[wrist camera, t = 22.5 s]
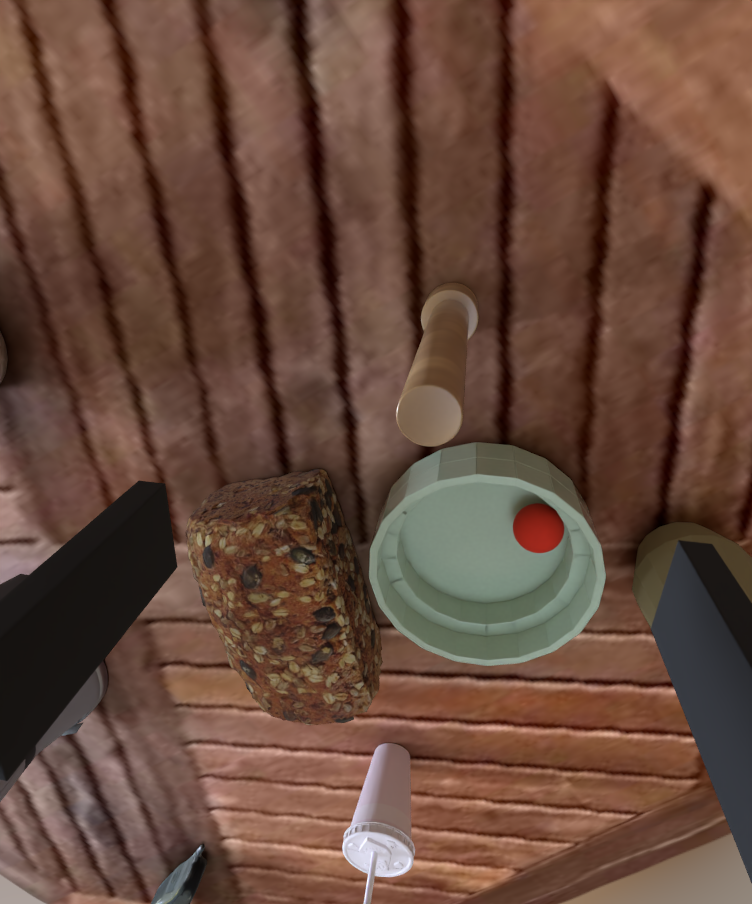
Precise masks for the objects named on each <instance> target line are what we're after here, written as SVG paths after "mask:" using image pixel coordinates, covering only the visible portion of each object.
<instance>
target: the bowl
mask: <svg viewBox="0 0 752 904" xmlns="http://www.w3.org/2000/svg"><path fill="white" fill-rule="evenodd" d="M535 503H540V504H545V505H548V506H550V507H552V508H553V509H555V510H556V511H557V513H558V515H559V516H560V518H561V520H562V521H563V523H564V535H563V538H562V540H561V542H560V543H559V545H558V546H557V547H556V548H554V549H553V550H551V551H549V552H546V553H533V552H530V551H528V550H526V549H524V548H523V547H522V546H521V545H520V544H519V543H518V542H517V540H516V539H515V536H514V533H513V522H514V518H515V516H516V515H517V513H518V512H519V511H520V510H521V509H522V508H524V507H525V506H527V505H530V504H535ZM369 580H370V583H371V586H372V589H373V591H374V594H375V597H376V600H377V603H378V605H379V607H380V609H381V610H382V611H383V612H384V614H385V615H386V616H387V618H388V619H389V620H390V621H391V623H392V624H393V625H394V627H395V628H396V629H397V630H398V631H399V632H400V633H402V634H403V635H405V636H406V637H407V638H409V639H410V640H411V641H413V642H414V643H416V644H417V645H418V646H420V647H421V648H422V649H425V650H427V651H430V652H432V653H435V654H437V655H440V656H442V657H445V658H447V659H450V660H452V661H457V662H464V663H470V664H477V665H484V666H493V665H504V664H516V663H523V662H526V661H529V660H532V659H535V658H537V657H540V656H543V655H546V654H549V653H552V652H553V651H555V650H557V649H558V648H560V647H561V646H563V645H564V644H565V643H567V642H568V641H570V640H571V639H572V638H574V637H575V636H577V635H578V634H579V633H580V632H581V631H582V630H583V628H584V627H585V626H586V624H587V623H588V621H589V620H590V619H591V617H592V616H593V615H594V613H595V612H596V610H597V609H598V607H599V604H600V600H601V596H602V592H603V588H604V584H605V580H606V572H605V566H604V559H603V553H602V547H601V544H600V541H599V538H598V535H597V532H596V530H595V527H594V524H593V521H592V518H591V515H590V512H589V510H588V507H587V505H586V503H585V502H584V500H583V498H582V497H581V495H580V493H579V492H578V490H577V488H576V486H575V485H574V483H573V481H571V479H570V478H569V477H567V476H566V475H565V474H564V473H562V472H561V471H560V470H559V469H558V468H556V467H555V466H554V465H553V464H552V463H550V462H549V461H548V460H547V459H545V458H543V457H540V456H538V455H535V454H533V453H530V452H528V451H525V450H523V449H520V448H518V447H515V446H512V445H502V444H491V443H481V442H477V443H476V442H475V443H469V444H464V445H459V446H454V447H449V448H444V449H441V450H439V451H437V452H435V453H433V454H431V455H429V456H427V457H425V458H424V459H422V460H420V461H418V462H416V463H414V464H413V465H412V466H411V467H410V468H409V469H408V470H407V471H406V472H405V473H404V474H403V475H402V476H401V477H400V478H399V479H398V481H397V482H396V483H395V484H394V485H393V486H392V487H391V489H390V492H389V494H388V496H387V499H386V501H385V503H384V506H383V508H382V510H381V513H380V516H379V520H378V523H377V526H376V530H375V533H374V536H373V540H372V543H371V546H370V555H369Z"/></svg>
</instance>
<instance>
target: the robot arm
mask: <svg viewBox="0 0 752 904" xmlns="http://www.w3.org/2000/svg"><path fill="white" fill-rule="evenodd" d="M176 568H177V561H176V554H175V548H174V541H173V534H172V527H171V520H170V514H169V507H168V500H167V493H166V486H165V484H163V483H154V482H145V481H138V482H137V483H136V484H134V485H133V486H132V487H131V488H130V489H129V490H127V491H126V492H125V493H124V494H123V495H122V496H121V497H119V498H118V499H117V500H116V501H115V502H114V503H112V504H111V505H110V506H109V507H108V508H107V509H105V510H104V511H103V512H102V513H101V514H100V515H98V516H97V517H96V518H95V519H94V520H93V521H91V522H90V523H89V524H88V525H87V526H86V527H85V528H83V529H82V530H81V531H80V532H79V533H78V534H76V535H75V536H74V537H73V538H72V539H71V540H69V541H68V542H67V543H66V544H65V545H64V546H62V547H61V548H60V549H59V550H58V551H57V552H56V553H54V554H53V555H52V556H51V557H50V558H49V559H47V560H46V561H45V562H44V563H43V564H42V565H40V566H39V567H38V568H37V569H36V570H35V571H33V572H32V573H31V574H30V575H24V574H20V575H18V576H16V577H14V578H12V579H10V580H8V581H6V582H4V583H2V584H0V802H1V800H2V799H3V798H4V796H5V795H6V794H7V793H8V791H9V790H10V789H11V787H12V786H13V785H14V783H15V782H16V781H17V779H18V778H19V777H20V776H21V774H22V773H23V772H24V770H25V769H26V768H27V767H28V765H29V764H30V763H31V761H32V760H33V759H34V758H35V756H36V755H37V754H38V753H39V752H40V751H42V750H43V749H44V748H46V747H47V746H48V745H49V744H51V743H52V742H53V741H55V740H56V739H57V738H58V737H60V736H62V735H67V734H73V733H76V732H77V731H78V729H79V728H80V727H81V725H82V724H83V723H80V724H78V723H79V722H81V721H82V720H84V719H85V718H86V717H87V716H88V715H89V714H90V713H91V712H92V711H93V710H94V709H95V707H96V706H97V705H98V703H99V702H100V701H101V699H102V698H103V696H104V695H105V692H106V690H107V686H108V675H107V670H106V666H105V664H104V661H103V660H104V659H105V657H106V656H107V655H108V654H109V652H110V651H111V650H112V649H113V647H114V646H115V645H116V644H117V642H118V641H119V640H120V639H121V637H122V636H123V635H124V634H125V632H126V631H127V630H128V629H129V627H130V626H131V625H132V623H133V622H134V621H135V620H136V618H137V617H138V616H139V615H140V613H141V612H142V611H143V610H144V608H145V607H146V606H147V605H148V603H149V602H150V601H151V600H152V598H153V597H154V596H155V594H156V593H157V592H158V591H159V589H160V588H161V587H162V586H163V584H164V583H165V582H166V581H167V579H168V578H169V577H170V576H171V574H172V573H173V572H174V571H175V569H176ZM651 631H652V633H653V636H654V638H655V641H656V643H657V646H658V648H659V651H660V653H661V656H662V658H663V661H664V663H665V666H666V668H667V671H668V673H669V676H670V679H671V681H672V684H673V686H674V689H675V691H676V694H677V696H678V699H679V701H680V704H681V706H682V709H683V711H684V714H685V716H686V719H687V721H688V724H689V726H690V729H691V731H692V734H693V737H694V739H695V742H696V744H697V747H698V749H699V752H700V754H701V757H702V759H703V762H704V764H705V767H706V769H707V772H708V774H709V777H710V779H711V782H712V784H713V787H714V789H715V792H716V794H717V797H718V800H719V802H720V805H721V807H722V810H723V812H724V815H725V817H726V820H727V822H728V825H729V827H730V830H731V832H732V835H733V837H734V840H735V842H736V845H737V847H738V850H739V852H740V855H741V857H742V860H743V862H744V865H745V868H746V870H747V873H748V875H749V878H750V880H751V883H752V603H751V601H750V600H749V598H748V597H747V595H746V594H745V592H744V591H743V589H742V588H741V586H740V585H739V583H738V582H737V580H736V579H735V577H734V576H733V574H732V573H731V571H730V570H729V568H728V567H727V565H726V564H725V562H724V561H723V559H722V558H721V556H720V555H719V553H718V552H717V550H716V549H715V547H714V546H713V544H708V543H699V542H690V541H681V540H678V543H677V546H676V549H675V552H674V555H673V559H672V562H671V565H670V568H669V572H668V575H667V578H666V581H665V584H664V588H663V591H662V594H661V597H660V601H659V604H658V607H657V610H656V613H655V617H654V620H653V623H652V626H651Z"/></svg>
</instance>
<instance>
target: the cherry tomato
mask: <svg viewBox="0 0 752 904" xmlns="http://www.w3.org/2000/svg"><path fill="white" fill-rule="evenodd" d="M513 533H514V536H515V539H516V540H517V542H518V543H519V544H520V545H521V546H522V547H523V548H524V549H526V550H528V551H530V552H533V553H546V552H549V551H551V550H553V549H554V548H556V547H557V546H558V545H559V543H560V542H561V540H562V538H563V535H564V523H563V521H562V520H561V518H560V516H559V515H558V513H557V511H556V510H555V509H553V508H552V507H550V506H548V505H545V504H540V503H535V504H530V505H527V506H525V507H524V508H522V509H521V510H520V511H519V512H518V513H517V515H516V516H515V518H514V522H513Z"/></svg>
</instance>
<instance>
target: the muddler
mask: <svg viewBox="0 0 752 904" xmlns="http://www.w3.org/2000/svg"><path fill="white" fill-rule="evenodd" d="M478 320H479V308H478V302H477V299H476V297H475V295H474V293H473V292H472V291H471V290H470V289H469V288H468V287H466V286H464V285H462V284H459V283H445V284H442V285H440V286H438V287H437V288H435V289H434V290H433V291H432V292H431V293H430V295H429V296H428V298H427V300H426V303H425V305H424V307H423V310H422V314H421V324H422V328H423V330H424V335H423V337H422V340H421V343H420V345H419V348H418V351H417V354H416V356H415V359H414V362H413V365H412V367H411V370H410V373H409V375H408V378H407V381H406V384H405V386H404V389H403V392H402V394H401V397H400V400H399V403H398V405H397V409H396V419H397V423H398V426H399V428H400V430H401V432H402V433H403V434H404V435H405V436H406V437H407V438H408V439H409V440H410V441H412V442H414V443H416V444H418V445H422V446H430V447H431V446H438V445H442V444H444V443H446V442H448V441H450V440H451V439H452V438H454V437H455V435H456V434H457V433H458V431H459V430H460V428H461V425H462V421H463V409H464V392H465V375H466V359H467V342H468V340H469V339H470V338H471V337H472V335H473V334H474V332H475V331H476V328H477V325H478Z"/></svg>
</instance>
